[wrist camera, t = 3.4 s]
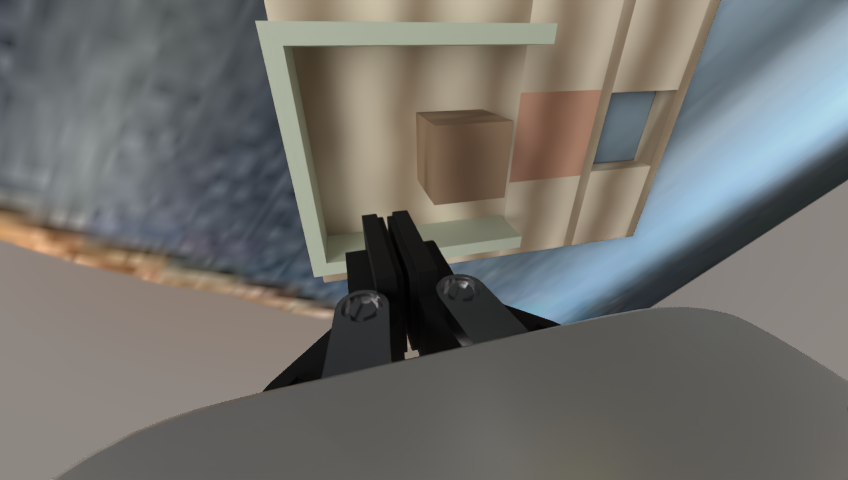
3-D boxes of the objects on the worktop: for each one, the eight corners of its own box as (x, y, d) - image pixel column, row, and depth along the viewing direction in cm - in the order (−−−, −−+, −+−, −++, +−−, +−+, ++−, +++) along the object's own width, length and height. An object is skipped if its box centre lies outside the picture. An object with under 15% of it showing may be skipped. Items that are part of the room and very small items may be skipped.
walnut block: (481, 109, 24) (514, 121, 19) (476, 174, 26) (504, 197, 22) (415, 112, 23) (434, 125, 18) (417, 179, 25) (434, 205, 21)
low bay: (522, 28, 21) (557, 23, 18) (498, 224, 29) (519, 247, 26) (269, 26, 18) (255, 20, 15) (316, 248, 26) (314, 277, 23)
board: (704, -24, 25) (731, -30, 23) (618, 227, 36) (632, 236, 34) (259, -45, 18) (252, -55, 16) (324, 269, 29) (324, 282, 28)
